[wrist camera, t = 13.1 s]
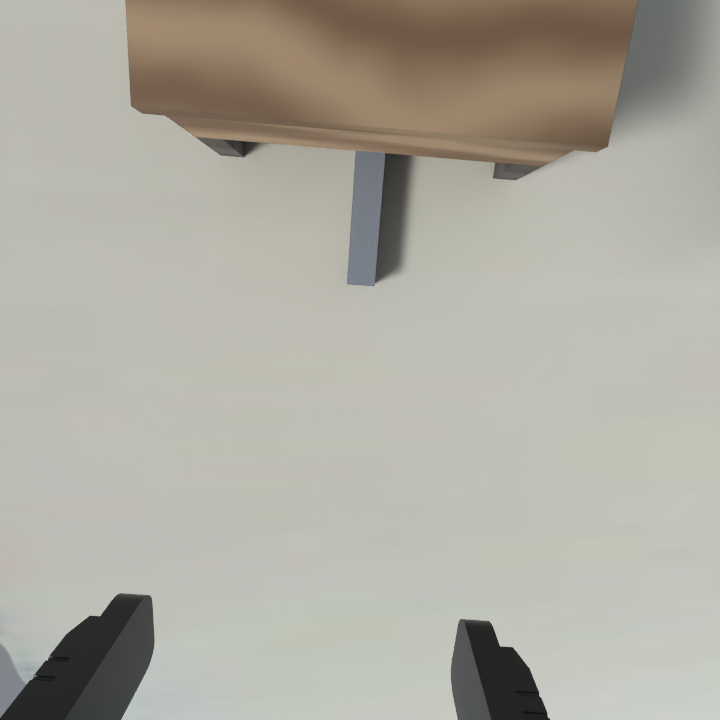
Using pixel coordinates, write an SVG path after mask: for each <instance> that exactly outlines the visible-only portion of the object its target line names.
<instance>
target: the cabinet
mask: <svg viewBox="0 0 720 720" xmlns="http://www.w3.org/2000/svg"><path fill="white" fill-rule="evenodd" d="M125 1H126V20H127V39H128V57H129V76H130V95H131V106H132V107H133V108H135V109H136V110H138V111H139V112H141V113H143V114H155V115H166V116H167V117H168V118H170V119H171V120H172V121H174V122H175V123H177V124H178V125H179V126H181V127H182V128H184V129H185V130H186V131H188V132H189V133H191V134H192V135H193V136H195V137H196V138H197V139H199V140H200V141H202V142H203V143H204V144H206V145H207V146H209V147H210V148H211V149H213V150H214V151H215V152H217V153H218V154H220V155H223V156H235V157H244V141H249V142H261V143H272V144H284V145H296V146H308V147H320V148H331V149H343V150H355V151H367V152H379V153H390V154H402V155H414V156H426V157H438V158H449V159H461V160H473V161H485V162H495V169H494V176H493V178H496V179H508V180H517V179H519V178H521V177H523V176H525V175H527V174H529V173H530V172H532V171H534V170H536V169H538V168H540V167H542V166H544V165H546V164H548V163H550V162H552V161H554V160H556V159H558V158H560V157H562V156H564V155H565V154H567V153H569V152H571V151H573V150H577V151H589V152H597V151H599V150H602V149H604V148H606V147H608V143H609V138H610V133H611V128H612V123H613V119H614V114H615V109H616V104H617V99H618V95H619V90H620V85H621V80H622V76H623V71H624V66H625V61H626V56H627V52H628V47H629V42H630V37H631V32H632V28H633V23H634V18H635V13H636V9H637V4H638V0H125Z"/></svg>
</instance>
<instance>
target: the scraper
mask: <svg viewBox="0 0 720 720" xmlns="http://www.w3.org/2000/svg"><path fill="white" fill-rule="evenodd" d="M384 164H385V153H379V152H367V151H356V155H355V171H354V186H353V201H352V217H351V232H350V247H349V263H348V278H347V284H351V285H364V286H375V275H376V262H377V250H378V238H379V226H380V213H381V201H382V189H383V177H384Z"/></svg>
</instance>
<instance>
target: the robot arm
mask: <svg viewBox="0 0 720 720" xmlns="http://www.w3.org/2000/svg"><path fill="white" fill-rule="evenodd" d="M153 649H154V625H153V607H152V598H151V596H149V595H136V594H123V593H120V594H118V595H117V596H115V597H114V599H113V600H112V601H111V603H110V604H109V605H108V607H107V608H106V609H105V611H104V612H103V613H102V615H101V616H89V617H88V618H87V619H85V620H84V621H83V622H81V623H80V624H79V625H78V626H76V627H75V628H74V629H72V630H71V631H70V632H69V633H67V634H66V636H65V637H64V638H63V639H62V641H61V642H60V643H59V644H58V646H57V647H56V648H55V650H54V651H53V652H52V653H51V655H50V656H49V659H48V661H45V662H44V663H43V665H42V666H41V667H40V668H39V670H38V671H37V672H36V674H35V675H34V678H33V680H30V681H29V682H28V684H27V685H26V686H25V688H24V689H23V690H22V691H21V693H20V694H19V695H18V696H17V698H16V699H15V700H14V701H13V703H12V704H11V705H10V707H9V708H8V709H7V710H6V712H5V713H4V714H3V715H2V717H1V718H0V720H121V719H122V717H123V715H124V713H125V711H126V709H127V707H128V705H129V703H130V701H131V700H132V698H133V696H134V694H135V692H136V690H137V688H138V686H139V684H140V682H141V681H142V679H143V677H144V675H145V673H146V671H147V669H148V666H149V664H150V661H151V658H152V654H153ZM451 683H452V692H453V697H454V702H455V707H456V712H457V717H458V720H550V719H549V718H548V716H547V711H546V709H545V706H544V704H543V701H542V699H541V697H539V691H538V689H537V686H536V684H535V681H534V679H533V676H532V674H531V671H530V669H529V667H528V666H527V665H526V664H525V662H524V661H523V660H522V659H521V657H520V656H519V655H518V653H517V652H516V651H515V650H514V648H513V647H500V646H499V643H498V640H497V637H496V634H495V631H494V629H493V626H492V624H491V623H490V622H489V621H479V620H465V619H460V621H459V624H458V629H457V635H456V641H455V646H454V652H453V658H452V664H451Z"/></svg>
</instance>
